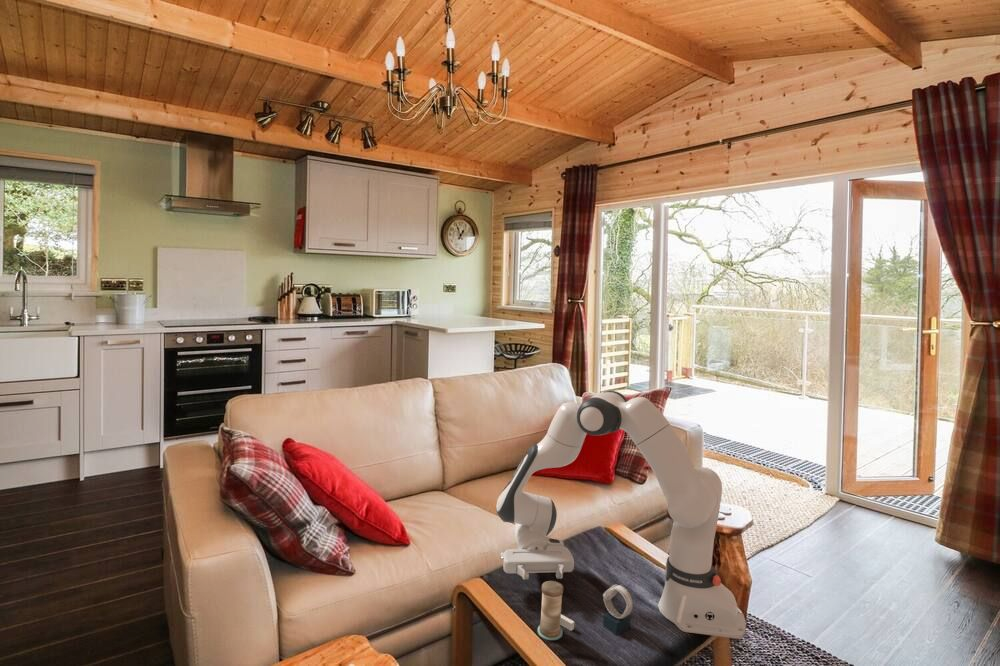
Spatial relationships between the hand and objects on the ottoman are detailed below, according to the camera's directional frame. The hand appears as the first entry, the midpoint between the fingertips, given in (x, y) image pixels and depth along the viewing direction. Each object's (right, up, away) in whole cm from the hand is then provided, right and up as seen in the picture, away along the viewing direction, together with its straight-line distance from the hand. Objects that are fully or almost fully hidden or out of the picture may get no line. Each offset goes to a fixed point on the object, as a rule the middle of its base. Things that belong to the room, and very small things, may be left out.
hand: (543, 576), depth 155 cm
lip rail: (+4, -10, -6) cm, 12 cm away
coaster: (+1, -10, -10) cm, 14 cm away
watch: (+19, -10, -6) cm, 22 cm away
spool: (+1, -9, -10) cm, 14 cm away
